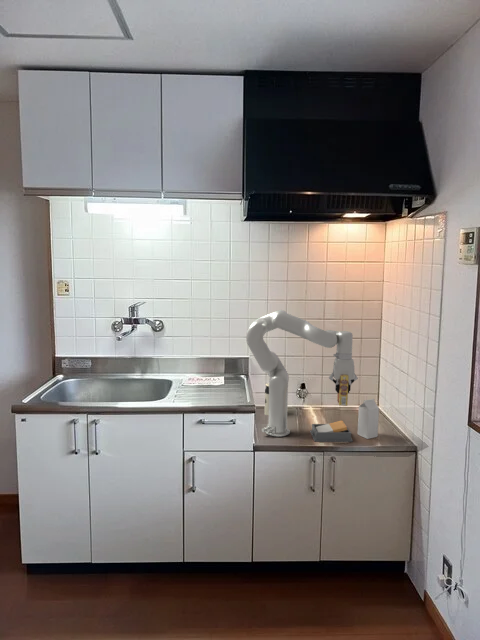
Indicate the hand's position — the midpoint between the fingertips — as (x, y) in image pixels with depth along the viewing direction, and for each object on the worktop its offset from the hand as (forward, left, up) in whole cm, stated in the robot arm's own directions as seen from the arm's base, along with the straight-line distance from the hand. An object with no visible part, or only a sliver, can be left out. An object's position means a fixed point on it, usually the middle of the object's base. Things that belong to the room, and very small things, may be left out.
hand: (342, 391), depth 241 cm
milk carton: (+12, -8, -24) cm, 27 cm away
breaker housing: (-4, +3, -23) cm, 24 cm away
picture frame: (-4, +3, -19) cm, 20 cm away
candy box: (0, 0, -6) cm, 6 cm away
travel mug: (-3, +47, -24) cm, 53 cm away
